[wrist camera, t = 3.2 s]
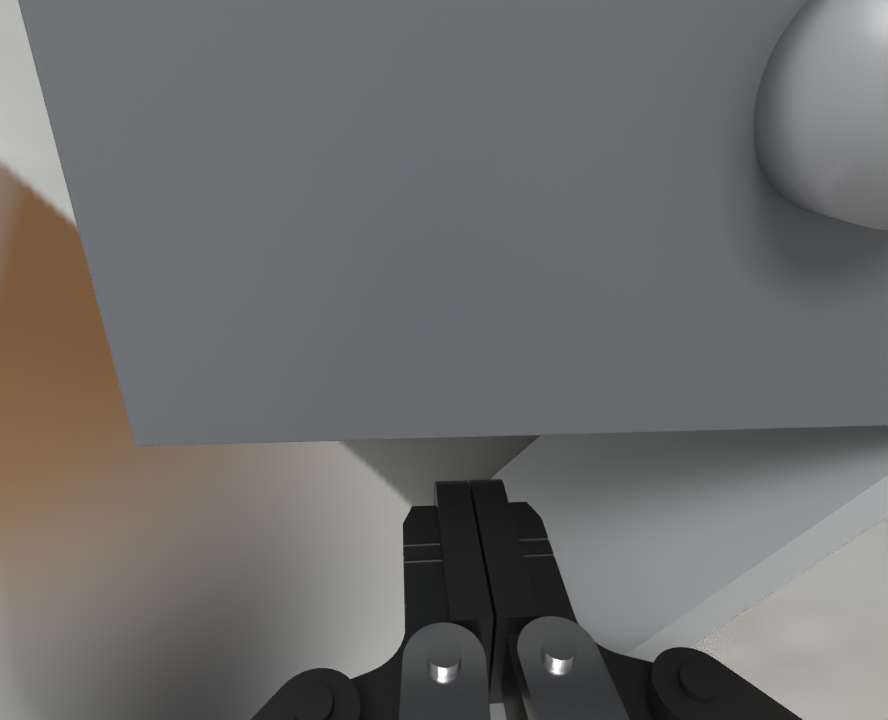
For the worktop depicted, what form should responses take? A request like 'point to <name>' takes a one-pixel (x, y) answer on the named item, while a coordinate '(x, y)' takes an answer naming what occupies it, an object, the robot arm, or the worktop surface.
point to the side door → (693, 521)
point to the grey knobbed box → (478, 212)
